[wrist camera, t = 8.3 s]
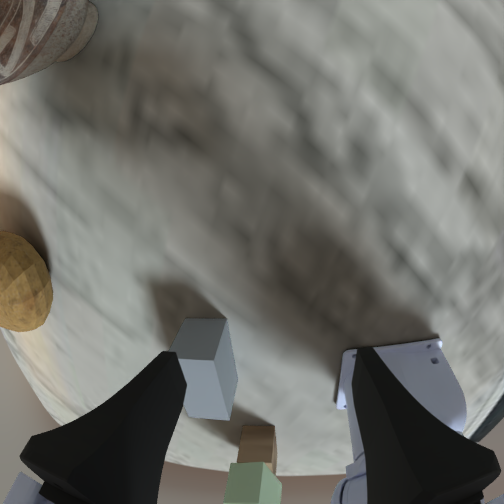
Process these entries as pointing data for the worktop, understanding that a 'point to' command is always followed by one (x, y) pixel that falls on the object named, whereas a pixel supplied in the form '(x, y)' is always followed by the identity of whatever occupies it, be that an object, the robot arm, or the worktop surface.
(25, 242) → the potato
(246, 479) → the green brick
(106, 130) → the worktop surface
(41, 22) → the pottery
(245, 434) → the walnut brick
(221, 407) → the slate brick
